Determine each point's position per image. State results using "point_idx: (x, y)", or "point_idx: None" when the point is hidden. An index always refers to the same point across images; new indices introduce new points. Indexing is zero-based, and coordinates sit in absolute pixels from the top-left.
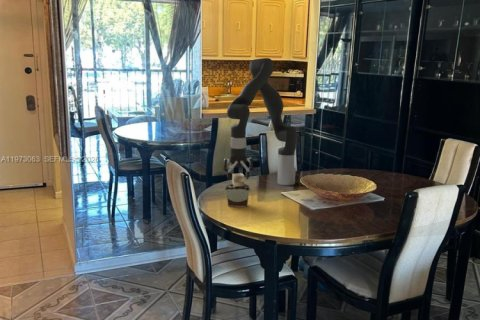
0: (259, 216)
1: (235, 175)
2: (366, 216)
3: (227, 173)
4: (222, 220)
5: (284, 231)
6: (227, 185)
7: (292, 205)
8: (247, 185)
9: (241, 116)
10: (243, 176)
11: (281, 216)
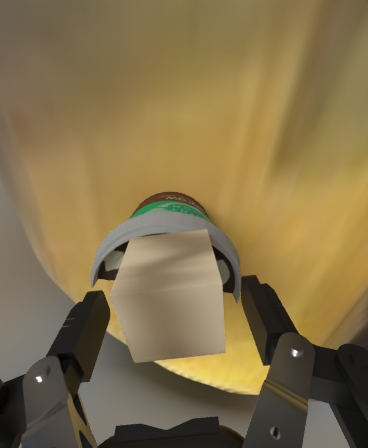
0: (232, 314)
1: (145, 342)
2: None
3: (56, 349)
4: (122, 334)
5: (265, 379)
6: (99, 265)
7: None
8: (234, 268)
9: None
10: (216, 349)
11: (296, 315)
